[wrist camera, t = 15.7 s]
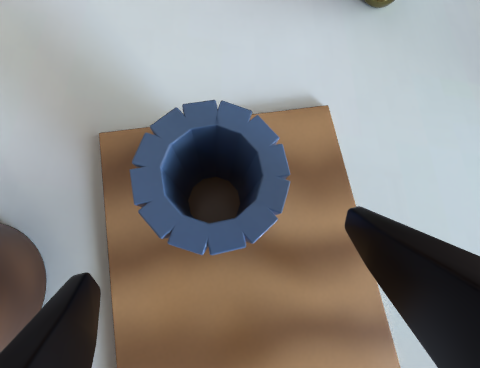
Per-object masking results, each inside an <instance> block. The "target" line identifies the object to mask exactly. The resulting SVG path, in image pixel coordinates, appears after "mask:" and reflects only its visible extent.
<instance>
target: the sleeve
mask: <svg viewBox="0 0 480 368" xmlns="http://www.w3.org/2000/svg"><path fill="white" fill-rule="evenodd" d="M182 107H183V112H184V114H183V113H182V112H181V111H180V110H179V109H178V108H174V109H173V110H172V111H170V112H169V113H167V114H166V115H165V116H163V117H162V118H160V119H159V120H158V121H156V122H155V123H154V124H152V125H151V126H150V129H151V131H152V132H153V134H154V135H153V134H150V133H145V134H144V136H143V138H142V140H141V142H140V144H139V147H138V149H137V151H136V153H135V156H134V158H133V160H132V164H133V165H135V166H136V167H137V168H135V169H130V177H131V185H132V193H133V200H134V205H136V206H139V207H142V208H141V209H139V211H138V213H139V214H140V215H141V217H142V218H143V219H144V220H145V221H146V222H147V224H148V225H149V226H150V227H151V228H152V230H153V231H154V232H155V233H156V234H157V236H158V237H159V238H160V239H166V238H169V239H168V244H169V245H172V246H175V247H178V248H181V249H184V250H187V251H190V252H194V253H197V254H200V255H203V254H204V253H205V251H206V249H207V248H209V254H210V255H216V254H221V253H225V252H229V251H234V250H238V249H242V248H245V247H246V242H248V243H252V244H253V243H255V242H256V241H257V240H258V239H259V238H260V237H261V236H262V235H263V234H264V233H265V232H266V231H267V230H268V229H269V228H270V227H271V226H272V225H273V224H274V223H275V222H277V221H278V218H277V217H276V216H275V215H278V214H281V213H282V212H283V208H284V204H285V201H286V197H287V194H288V190H289V186H290V181H289V180H286V178H287V177H288V176H289V175H290V170H289V166H288V162H287V158H286V155H285V151H284V147H283V144H276V143H277V141H278V140H279V137H278V136H277V134H276V133H275V132H274V131H273V130H272V129H271V128H270V127H269V126H268V125H267V124H266V123H265V122H264V121H263V120H262V119H261V118H260V117H259V115H256V116H255V117H254V118H252V119H251V120H250V118H251V115H252V111H251V110H248V109H245V108H242V107H239V106H236V105H234V104H231V103H228V102H225V101H221V102H220V105H219V108H218V109H217V104H216V101H215V100H210V101H203V102H196V103H188V104H183V105H182ZM275 144H276V145H275ZM212 177H219V178H222V179H224V180H227V181H229V182H230V183H231V184H232V185H233V186H234V187H235V188H236V190H237V191H238V195H239V200H240V206H239V209H238V212H237V215H236V217H235V218H232V219H227V220H222V221H218V222H213V223H207V222H204V221H201V220H198V219H195V218H194V217H193V216H192V215H191V213H190V208H189V202H188V199H189V197H190V194H191V191H192V189H193V187H194V186H195V185H197V184H198V183H199V182H200V181H202V180H203V179H207V178H212Z"/></svg>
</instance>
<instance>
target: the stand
mask: <svg viewBox="0 0 480 368" xmlns="http://www.w3.org/2000/svg"><path fill="white" fill-rule="evenodd" d="M45 291H46V271H45V267H44V262H43V260H42V257H41V255H40V253H39V251H38V249H37V248H36V246H35V245H34V244H33V243H32V241H31V240H30V239H29V238H28V237H26V236H25V235H24V234H23V233H21V232H20V231H18V230H16V229H15V228H12V227H10V226H8V225H4V224H1V223H0V352H1V351H2V350H3V349H4V348H5V347H6V346H7V345H8V344H9V343H10V342H11V341H12V340H13V339H14V338H15V336H16V335H17V334H18V333H19V332H20V331H21V330H22V329H23V328H24V327H25V326H26V325H27V324H28V323H29V322H30V320H31V319H32V318H33V317H34V316H35V315H36V314H37V313H38V312H39V311H40V310H41V308H42V304H43V301H44V297H45Z"/></svg>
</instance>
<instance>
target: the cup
mask: <svg viewBox="0 0 480 368" xmlns="http://www.w3.org/2000/svg"><path fill="white" fill-rule="evenodd" d="M364 1H365V2H366V3H367V4H368V5H370V6H372V7H376V8H382V7H386V6H388V5H389V4H391V3H392V2H393V1H395V0H364Z"/></svg>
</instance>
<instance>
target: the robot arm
mask: <svg viewBox="0 0 480 368" xmlns="http://www.w3.org/2000/svg"><path fill="white" fill-rule="evenodd" d="M345 230H346V232H347V234H348V236H349V237H350V239H351V241H352V243H353V244H354V246H355V248H356V250H357V252H358V253H359V255H360V257H361V259H362V260H363V262H364V264H365V265H366V267H367V268H368V270H369V271H370V273H371V274H372V276H373V277H374V278H375V280H376V281H377V283H378V284H379V285H380V287H381V288H382V290H383V291H384V292H385V294H386V295H387V297H388V298H389V300H390V301H391V302H392V304H393V305H394V307H395V308H396V309H397V311H398V312H399V314H400V315H401V316H402V318H403V319H404V321H405V322H406V323H407V325H408V326H409V328H410V329H411V330H412V332H413V333H414V335H415V336H416V338H417V339H418V340H419V342H420V343H421V345H422V346H423V347H424V349H425V350H426V352H427V353H428V354H429V356H430V357H431V359H432V360H433V361H434V363H435V364H436V366H437V367H438V368H480V256H478V255H475V254H473V253H470V252H468V251H466V250H463V249H461V248H458V247H456V246H454V245H451V244H449V243H447V242H444V241H442V240H439V239H437V238H435V237H432V236H430V235H427V234H425V233H423V232H420V231H418V230H415V229H413V228H411V227H408V226H406V225H403V224H401V223H399V222H396V221H394V220H392V219H389V218H387V217H384V216H382V215H380V214H377V213H375V212H372V211H370V210H368V209H365V208H363V207H360V206H358V207H353V208H350V209H348V211H347V215H346V220H345ZM100 296H101V291H100V287H99V286H98V284H97V283H96V282H95V280H94V279H93V277H92V276H91V275H90V274H89V273H81V274H77V275H74V276H72V277H71V278H70V279H69V280H68V281H67V282H66V283H65V284H64V285H63V286H62V287H61V288H60V290H59V291H58V292H57V293H56V294H55V295H54V296H53V297H52V298H51V299H50V300H49V301H48V302H47V303H46V304H45V306H44V307H43V308H42V309H41V310H40V311H39V312H38V313H37V314H36V315H35V316H34V317H33V318H32V319H31V320H30V322H29V323H28V324H27V325H26V326H25V327H24V328H23V329H22V330H21V331H20V332H19V333H18V334H17V335H16V336H15V338H14V339H13V340H12V341H11V342H10V343H9V344H8V345H7V346H6V347H5V348H4V349H3V350H2V351H1V352H0V368H91V367H92V362H93V357H94V352H95V346H96V339H97V330H98V318H99V307H100Z"/></svg>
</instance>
